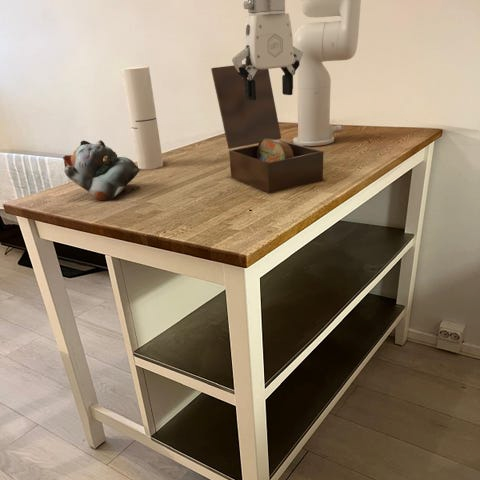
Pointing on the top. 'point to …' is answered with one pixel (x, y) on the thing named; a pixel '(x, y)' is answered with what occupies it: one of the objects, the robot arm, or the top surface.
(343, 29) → the robot arm
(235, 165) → the chest
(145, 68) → the cylindrical container
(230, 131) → the lid
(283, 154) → the tin
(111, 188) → the lucky cat figurine
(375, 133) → the top surface
